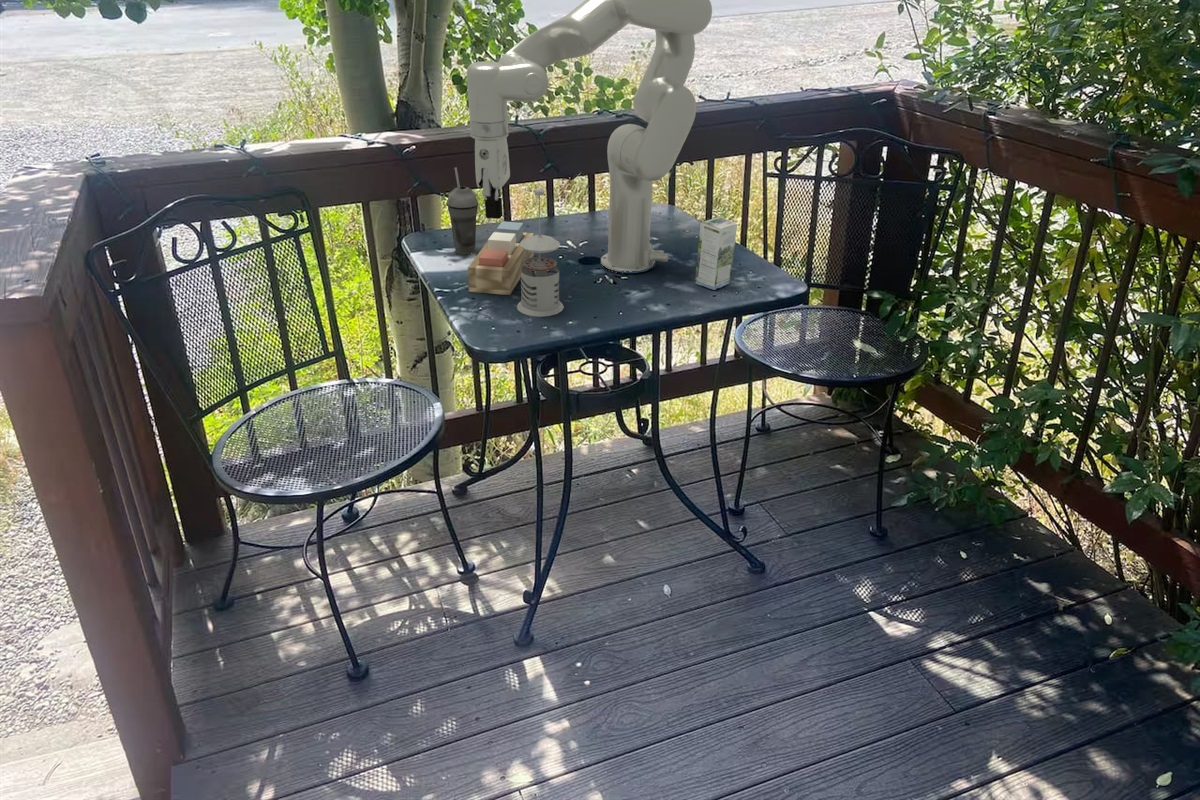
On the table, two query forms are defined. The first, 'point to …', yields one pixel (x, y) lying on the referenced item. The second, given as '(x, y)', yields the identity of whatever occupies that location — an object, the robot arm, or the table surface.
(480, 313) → the table surface
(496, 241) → the white key
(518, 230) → the blue key
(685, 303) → the table surface
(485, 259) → the red key
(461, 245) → the beverage cup
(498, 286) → the key box
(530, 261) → the french press
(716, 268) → the syrup box
